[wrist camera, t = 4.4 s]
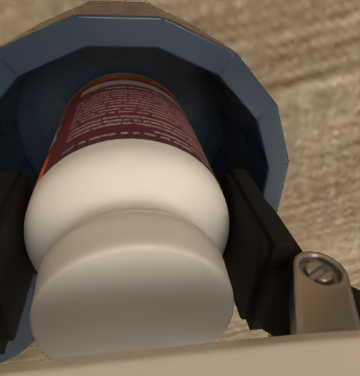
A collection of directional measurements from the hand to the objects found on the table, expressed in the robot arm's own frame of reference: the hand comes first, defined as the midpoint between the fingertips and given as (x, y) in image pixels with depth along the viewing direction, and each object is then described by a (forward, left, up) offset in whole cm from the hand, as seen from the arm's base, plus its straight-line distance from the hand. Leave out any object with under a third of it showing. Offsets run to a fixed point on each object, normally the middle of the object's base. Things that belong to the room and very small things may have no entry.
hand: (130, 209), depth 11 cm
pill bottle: (0, 0, -7) cm, 7 cm away
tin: (0, 0, -7) cm, 7 cm away
